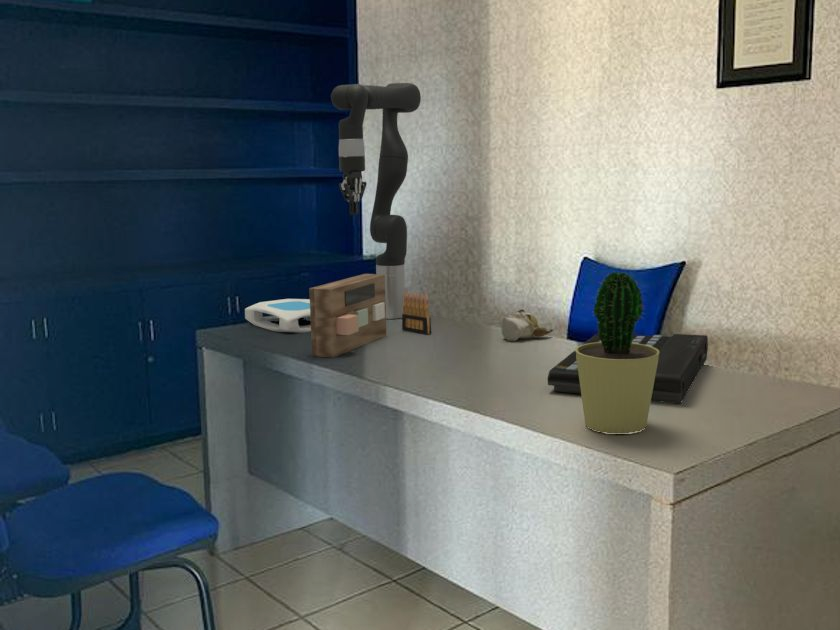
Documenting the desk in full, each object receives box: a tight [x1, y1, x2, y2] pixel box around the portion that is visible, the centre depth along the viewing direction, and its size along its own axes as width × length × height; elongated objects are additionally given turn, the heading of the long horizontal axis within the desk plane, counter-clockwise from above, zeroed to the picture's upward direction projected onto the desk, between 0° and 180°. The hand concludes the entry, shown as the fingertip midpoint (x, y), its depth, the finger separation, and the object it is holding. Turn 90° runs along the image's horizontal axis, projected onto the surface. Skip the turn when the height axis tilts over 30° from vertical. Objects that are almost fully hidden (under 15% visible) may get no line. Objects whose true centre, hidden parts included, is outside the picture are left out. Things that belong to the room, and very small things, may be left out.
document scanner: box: [244, 298, 311, 334], centre depth 272 cm, size 21×28×6 cm
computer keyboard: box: [547, 333, 709, 404], centre depth 201 cm, size 45×28×7 cm, turn 155°
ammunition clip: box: [401, 291, 432, 336], centre depth 255 cm, size 11×2×12 cm, turn 45°
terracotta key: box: [336, 314, 359, 335], centre depth 228 cm, size 6×5×4 cm
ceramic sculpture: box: [500, 309, 554, 342], centre depth 243 cm, size 11×9×15 cm
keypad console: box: [308, 273, 387, 358], centre depth 238 cm, size 7×30×18 cm, turn 155°
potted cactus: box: [574, 271, 659, 433], centre depth 161 cm, size 15×15×30 cm
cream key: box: [372, 302, 385, 321], centre depth 246 cm, size 6×5×4 cm
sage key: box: [355, 308, 368, 327], centre depth 238 cm, size 6×5×4 cm
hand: (354, 214), depth 254 cm, fingers closed
